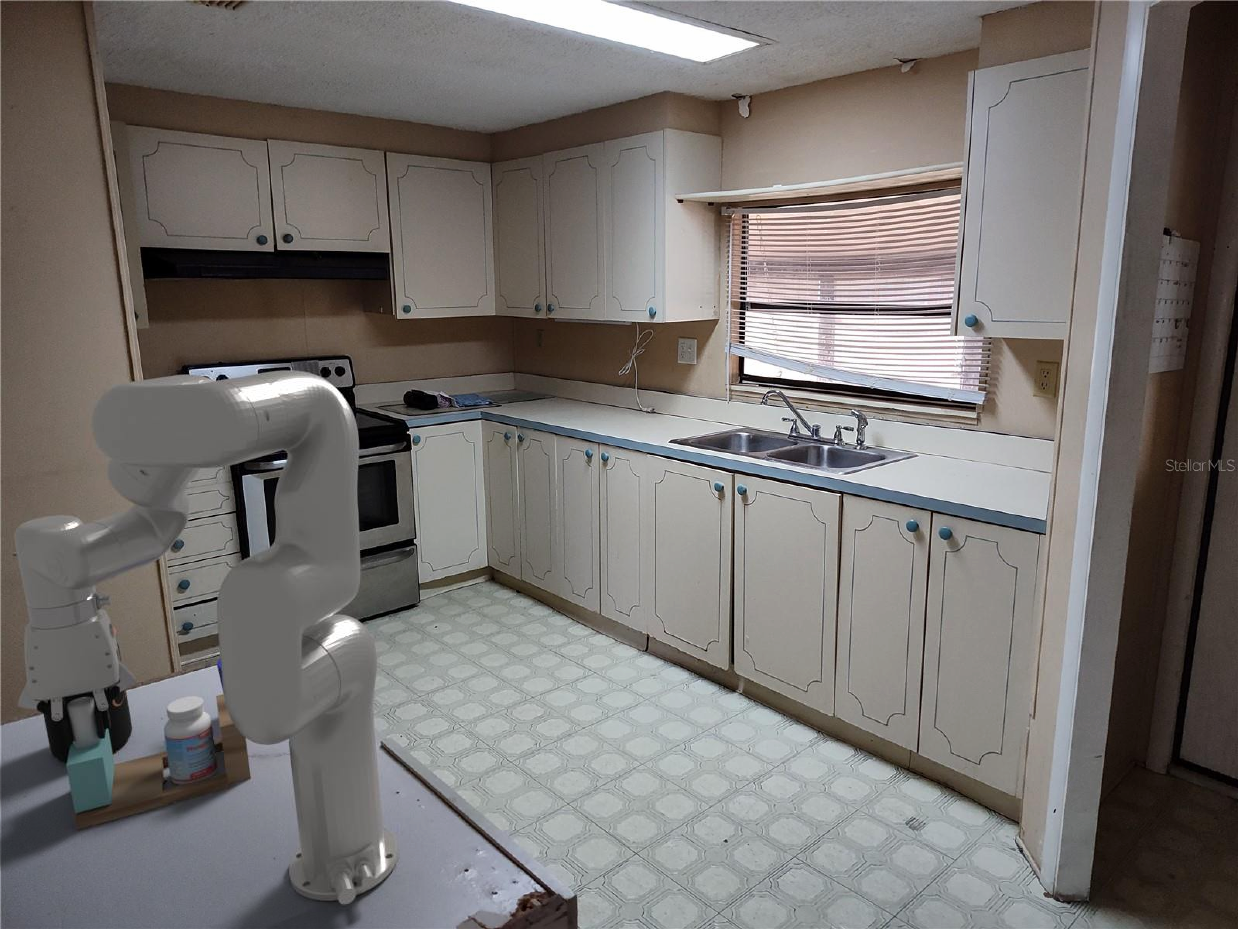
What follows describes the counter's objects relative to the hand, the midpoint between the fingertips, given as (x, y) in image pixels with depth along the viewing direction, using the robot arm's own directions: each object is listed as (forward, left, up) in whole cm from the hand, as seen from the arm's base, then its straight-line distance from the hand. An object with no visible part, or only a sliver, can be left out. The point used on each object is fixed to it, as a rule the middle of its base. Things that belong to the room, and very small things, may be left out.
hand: (86, 736), depth 111 cm
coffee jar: (+16, +2, -10) cm, 19 cm away
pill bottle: (0, -12, -10) cm, 16 cm away
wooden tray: (0, -8, -10) cm, 13 cm away
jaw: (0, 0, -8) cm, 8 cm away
